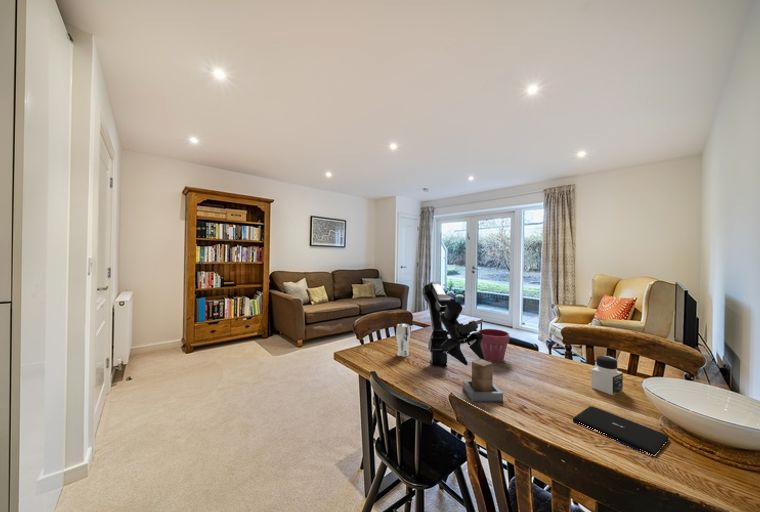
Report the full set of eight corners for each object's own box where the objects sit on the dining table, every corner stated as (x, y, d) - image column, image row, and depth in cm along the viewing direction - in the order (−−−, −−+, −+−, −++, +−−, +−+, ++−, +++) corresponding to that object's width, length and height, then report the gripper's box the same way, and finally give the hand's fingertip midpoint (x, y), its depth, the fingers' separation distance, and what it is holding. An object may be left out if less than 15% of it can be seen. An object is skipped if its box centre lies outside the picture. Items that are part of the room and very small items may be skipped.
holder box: (472, 402, 96) (472, 393, 96) (462, 388, 106) (463, 380, 106) (503, 402, 96) (503, 393, 96) (490, 387, 106) (490, 379, 106)
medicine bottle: (613, 396, 100) (613, 362, 100) (590, 387, 107) (590, 355, 107) (623, 391, 104) (623, 358, 104) (600, 383, 110) (600, 352, 110)
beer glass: (411, 353, 144) (411, 324, 144) (408, 358, 137) (408, 327, 137) (398, 351, 146) (398, 322, 146) (394, 356, 139) (394, 326, 139)
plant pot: (472, 358, 136) (472, 332, 136) (484, 351, 147) (484, 327, 147) (503, 366, 127) (503, 338, 127) (513, 358, 137) (513, 332, 137)
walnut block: (471, 392, 102) (471, 361, 102) (480, 388, 105) (480, 358, 105) (483, 397, 98) (483, 366, 98) (492, 394, 100) (492, 363, 100)
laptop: (647, 463, 68) (647, 455, 68) (564, 419, 87) (564, 413, 87) (678, 446, 75) (679, 438, 75) (595, 408, 93) (595, 402, 93)
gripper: (446, 317, 103) (471, 356, 94) (479, 311, 113) (504, 346, 104) (431, 333, 110) (453, 371, 100) (463, 326, 120) (486, 361, 111)
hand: (475, 362), depth 104 cm, fingers open, 9 cm apart
